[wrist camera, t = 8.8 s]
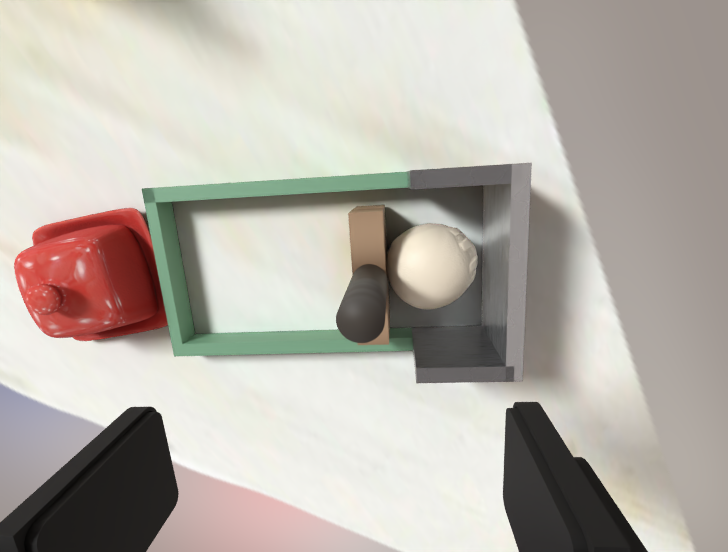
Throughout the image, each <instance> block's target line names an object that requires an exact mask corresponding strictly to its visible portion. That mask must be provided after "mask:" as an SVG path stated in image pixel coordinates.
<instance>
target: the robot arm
mask: <svg viewBox="0 0 728 552" xmlns="http://www.w3.org/2000/svg"><path fill="white" fill-rule="evenodd" d="M177 500H178V488H177V483H176V479H175V474H174V470H173V465H172V461H171V456H170V452H169V447H168V443H167V438H166V434H165V429H164V425H163V420H162V416H161V414H160V413H158V412H156V410H155V408H153V407H130V408H129V409H127V410H126V411H125V412H124V413H122V414H121V415H120V416H119V417H118V418H117V419H116V420H115V421H114V422H112V423H111V424H110V425H109V426H108V427H107V428H106V429H105V430H103V431H102V432H101V433H100V434H99V435H98V436H97V437H96V438H95V439H93V440H92V441H91V442H90V443H89V444H88V445H87V446H85V447H84V448H83V449H82V450H81V451H80V452H79V453H78V454H77V455H76V456H74V457H73V458H72V459H71V460H70V461H69V462H68V463H67V464H65V465H64V466H63V467H62V468H61V469H60V470H59V471H57V472H56V473H55V474H54V475H53V476H52V477H51V478H50V479H49V480H47V481H46V482H45V483H44V484H43V485H42V486H41V487H40V488H38V489H37V490H36V491H35V492H34V493H33V494H32V495H31V496H29V498H27V499H26V500H25V501H24V502H23V503H22V504H20V505H19V506H18V507H17V508H16V509H15V510H14V511H13V512H12V513H11V514H9V515H8V516H7V517H6V518H5V519H4V520H3V521H2V522H0V552H146V551H147V549H148V547H149V546H150V545H151V543H152V541H153V540H154V538H155V537H156V535H157V534H158V532H159V531H160V529H161V528H162V526H163V524H164V523H165V521H166V520H167V518H168V517H169V515H170V514H171V512H172V511H173V509H174V508H175V506H176V503H177ZM503 500H504V506H505V510H506V513H507V516H508V519H509V522H510V525H511V528H512V531H513V534H514V538H515V541H516V544H517V547H518V550H519V552H648V551H647V550H646V548H645V547H644V545H643V544H642V542H641V541H640V539H639V538H638V536H637V535H636V533H635V532H634V530H633V529H632V527H631V526H630V524H629V523H628V521H627V520H626V519H625V517H624V516H623V514H622V513H621V511H620V510H619V508H618V507H617V505H616V504H615V502H614V501H613V499H612V498H611V496H610V495H609V493H608V492H607V490H606V489H605V487H604V486H603V484H602V483H601V481H600V480H599V478H598V477H597V475H596V474H595V472H594V471H593V469H592V468H591V466H590V465H589V463H588V462H587V461H586V460H585V459H583V458H582V457H573V456H572V454H571V453H570V451H569V449H568V448H567V446H566V445H565V443H564V441H563V440H562V438H561V437H560V435H559V434H558V432H557V430H556V429H555V427H554V426H553V424H552V422H551V421H550V419H549V418H548V416H547V415H546V413H545V411H544V410H543V408H542V407H541V405H540V404H539V403H538V402H515V403H514V405H513V408H507V410H506V425H505V453H504V481H503Z"/></svg>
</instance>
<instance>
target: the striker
mask: <svg viewBox="0 0 728 552" xmlns="http://www.w3.org/2000/svg"><path fill="white" fill-rule="evenodd" d="M348 215H349V229H350V243H351V258H352V272H353V276H352V278H351V281H350V283H349V286H348V288H347V290H346V293H345V295H344V298H343V300H342V302H341V305H340V307H339V310H338V312H337V316H336V323H337V327H338V329H339V331H340V333H341V334H342V335H343V336H344V337H345V338H346V339H348V340H350V341H352V342H355V343H357V344H358V345H389V331H390V307H389V286H388V275H387V266H386V260H387V243H386V222H385V205H375V206H357V207H356V208H354V209H353V210H352V211H351V212H349V213H348Z"/></svg>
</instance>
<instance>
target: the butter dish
mask: <svg viewBox="0 0 728 552" xmlns="http://www.w3.org/2000/svg"><path fill="white" fill-rule="evenodd" d="M32 239H33V245H34V246H32V247H30V248H28V249H26V250H24V251H22V252H21V253H20V254H19V255H18V256H17V257H16V259H15V263H14V269H15V275H16V279H17V283H18V287H19V290H20V292H21V295H22V298H23V300H24V303H25V304H26V307H27V309H28V311H29V313H30V315H31V317H32V318H33V320H34V321H35V323H36V324H37V326H38V327H39V328H40V329H41V331H43V332H44V333H45V334H46V335H48V336H50V337H55V338H68V337H73V338H74V339H76V340H79V341H91V340H99V339H105V338H110V337H117V336H123V335H128V334H133V333H139V332H144V331H149V330H154V329H158V328H162V327H165V326H167V325H168V322H167V317H166V312H165V306H164V301H163V296H162V291H161V286H160V281H159V276H158V270H157V265H156V260H155V255H154V250H153V245H152V239H151V234H150V232H149V229H148V226H147V224H146V222H145V220H144V218H143V216H142V214H141V213H140V212H139V211H138V210H137V209H134V208H124V209H118V210H112V211H107V212H103V213H97V214H92V215H88V216H83V217H79V218H74V219H70V220H65V221H61V222H56V223H52V224H48V225H45V226H42V227H40V228H38V229H37V230H35V231H34V233H33V236H32Z"/></svg>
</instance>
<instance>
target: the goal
mask: <svg viewBox="0 0 728 552" xmlns="http://www.w3.org/2000/svg"><path fill="white" fill-rule="evenodd" d="M531 165H532V163H521V164H505V165H489V166H474V167H458V168H443V169H427V170H411V171H408V172H407V186H408V188H409V189H410V190H412V189H429V188H446V187H462V186H479V185H483V253H482V325H481V326H446V327H412V328H411V329H412V338H413V356H414V365H415V374H416V383H455V382H513V381H523V357H524V333H525V309H526V285H527V261H528V237H529V213H530V189H531Z"/></svg>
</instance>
